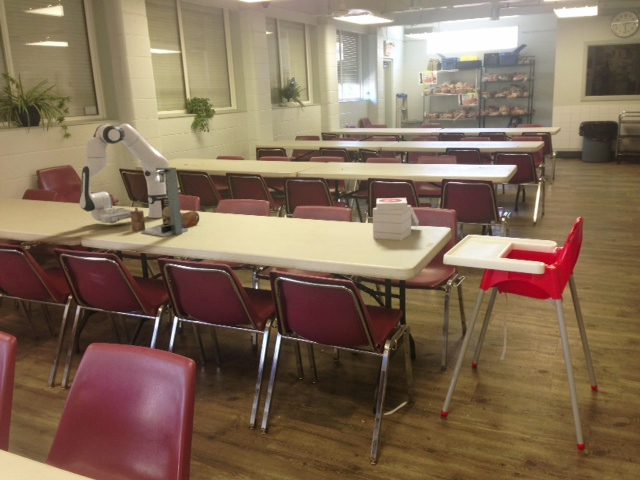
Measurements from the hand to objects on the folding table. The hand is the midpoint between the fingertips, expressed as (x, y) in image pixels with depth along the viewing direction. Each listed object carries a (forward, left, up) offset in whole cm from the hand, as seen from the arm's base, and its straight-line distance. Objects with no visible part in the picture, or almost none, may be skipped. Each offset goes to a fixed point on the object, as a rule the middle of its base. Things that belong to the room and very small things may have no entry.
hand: (125, 217), depth 332 cm
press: (-1, +31, -6) cm, 32 cm away
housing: (0, +12, -6) cm, 13 cm away
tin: (-21, +30, -6) cm, 37 cm away
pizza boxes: (-61, +144, -6) cm, 156 cm away
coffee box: (-21, +15, -6) cm, 26 cm away
